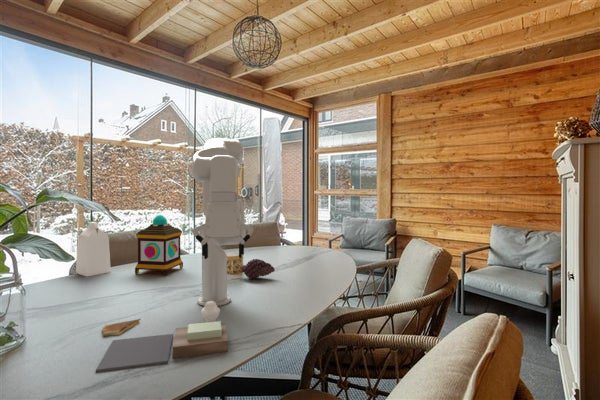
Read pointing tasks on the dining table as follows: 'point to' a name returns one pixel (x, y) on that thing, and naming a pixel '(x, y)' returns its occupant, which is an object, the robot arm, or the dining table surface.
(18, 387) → the dining table surface
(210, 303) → the white swirled ornament
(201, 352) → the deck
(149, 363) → the mat
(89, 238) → the milk
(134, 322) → the shard
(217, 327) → the pale green block
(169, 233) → the decorative lantern
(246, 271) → the pine cone
